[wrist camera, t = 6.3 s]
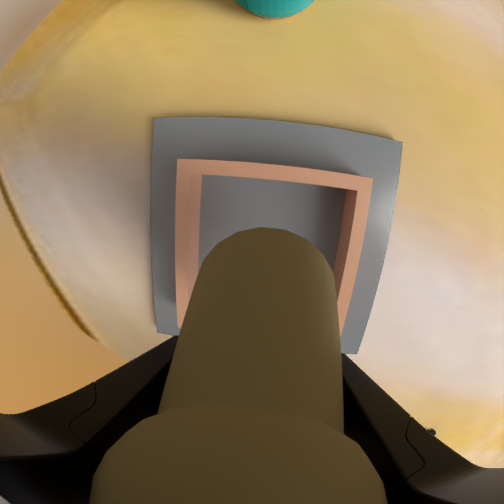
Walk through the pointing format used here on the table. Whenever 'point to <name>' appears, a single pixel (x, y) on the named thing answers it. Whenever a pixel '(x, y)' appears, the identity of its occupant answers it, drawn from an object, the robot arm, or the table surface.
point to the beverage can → (274, 7)
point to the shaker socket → (270, 203)
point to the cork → (249, 391)
